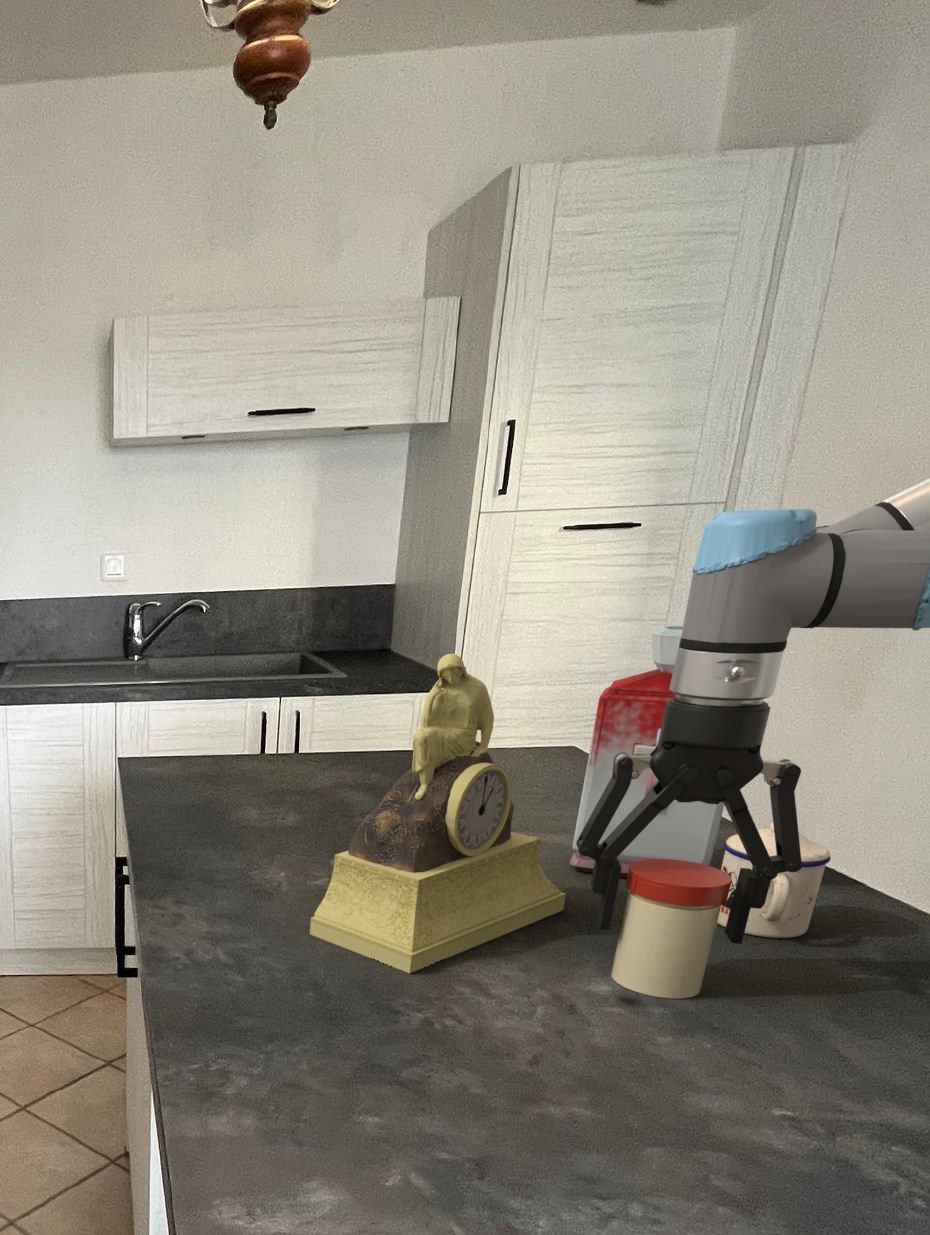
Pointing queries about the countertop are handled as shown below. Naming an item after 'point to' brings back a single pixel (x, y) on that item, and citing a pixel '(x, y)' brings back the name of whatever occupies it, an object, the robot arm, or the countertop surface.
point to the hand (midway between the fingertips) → (666, 931)
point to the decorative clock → (438, 847)
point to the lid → (678, 882)
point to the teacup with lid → (778, 888)
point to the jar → (663, 947)
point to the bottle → (635, 729)
